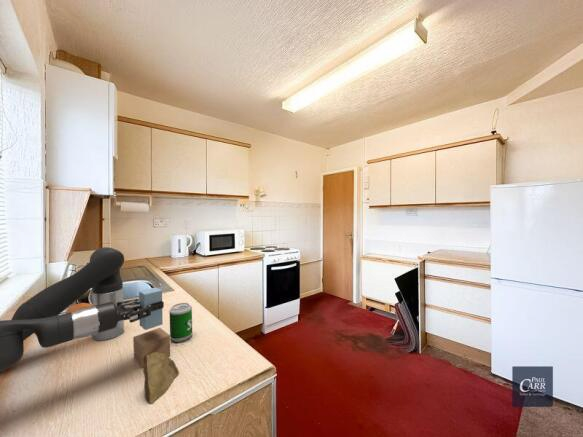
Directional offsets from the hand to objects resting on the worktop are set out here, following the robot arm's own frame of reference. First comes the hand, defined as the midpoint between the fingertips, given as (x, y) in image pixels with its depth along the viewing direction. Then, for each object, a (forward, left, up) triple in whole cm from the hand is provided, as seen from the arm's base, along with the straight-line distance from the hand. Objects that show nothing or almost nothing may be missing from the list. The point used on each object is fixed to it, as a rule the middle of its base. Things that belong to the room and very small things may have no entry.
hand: (159, 302), depth 79 cm
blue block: (-1, -2, -6) cm, 7 cm away
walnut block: (-2, -2, -17) cm, 17 cm away
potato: (-49, +19, -17) cm, 55 cm away
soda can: (+1, +10, -17) cm, 20 cm away
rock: (+10, -14, -17) cm, 25 cm away
